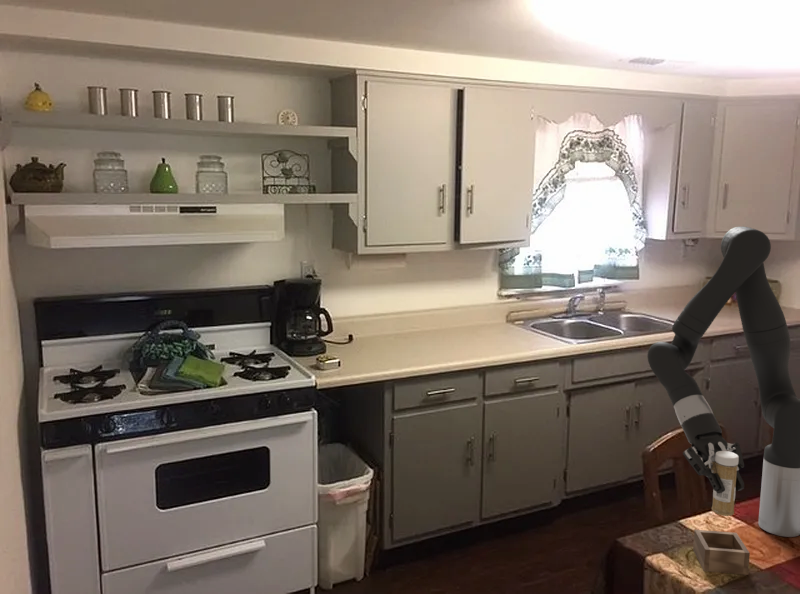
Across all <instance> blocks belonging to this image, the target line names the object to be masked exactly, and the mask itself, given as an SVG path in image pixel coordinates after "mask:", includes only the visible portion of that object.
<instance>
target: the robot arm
mask: <svg viewBox="0 0 800 594" xmlns="http://www.w3.org/2000/svg"><path fill="white" fill-rule="evenodd" d="M771 248H772V243H771V242H770V239H769V237H768V236H767V234H765V233H764V232H763V231H761V230H759V229H756V228H752V227H750V226H749V227H748V226H735V227H732V228H731V229H728V231H727V232H725V234H724V235H723V237H722V240H721V243H720V251H721V254H722V257H723V259H722V261H721V262H720V265H719V266H718V268H717V270H716V271H715V273H714V274H713V276H712V277H711V278H710V279H708V281H707V283H706V284H704V285H703V286H702V287H701V289H700V290H698V291H697V293H696V294H695V295H694V296H693V297H692V298H691V299H690V300H689V301H688V302H687V304H686V305H685V306H684V308H683V310H682V311H681V312H680V313H679V315H678V317H677V318H676V319H675V320H674V322H673V324H672V326H671V330H672V332H673V334H674V337H673V339H672V341H671V342H667V341H657V342H654V343H653V344H652V345H650V347H649V348H648V351H647V362H648V364H649V367H650V369H651V371H652V372H653V374H654V375H655V376H656V378H657V380H658V382H659V383H660V384H661V385H662V386H663V388H664V390H665V391H666V392H667V394H668V397H669V400H670V401H671V404H672V406H673V409H674V411H675V415H676V418H677V420H678V422H679V424H680V426H681V429H682V430H683V433H684V434H685V437H686V439H687V441H688V443H689V444H691V446H690V447H688V448H687V449H685V450H684V451H683V452H682V454H683V455H682V456H684V458H685V459H686V460H687V462H688V463H689V465H690V466H691V467H692V468H693V470H694V471H695V472H696V474H697V475H698V476H705V477H706V478H708V481H709V482H710V484H711V486H712V487H711V488H712V490H713V489H714V490H715V491H716V492H717V493H722V492H724V491H725V487H724V485H723V483H722V481H721V479H720V477H719V475H718V474H716V467H715V466H716V461H715V455H716V452H718V451H729V452H733V453H735V454H737V455H738V457H739V461H738V466H737V475H736V492H739V491H740V492H741V491H742V490H744V489H745V482H744V480H743V478H742V475H741V474H740V472H739V471H740V470H742V468H744V467H745V463H744V459H743V458H744V457H743V454H742V449H741V444H740V443H739V442H734V443H729V442H727V440H726V439H725V438H724V437H723V434H722V433H723V432H722V431H723V430H722V428H721V427H720V424H719V422H718V420H717V419H716V416H715V414H714V413H713V412H714V411H713V410H712V408H711V406H710V404H709V403H708V401H707V400H706V398H705V396H704V394H703V392H702V391H701V389H700V387H699V384H698V383H697V381H696V380H695V378H694V377H693V376H692V375H690V374H688V373H687V371H685V370H686V369H687V368H688V367H689V366H690V364H691V362H692V360H693V358H694V355H695V354H696V351H697V348H698V345H699V342H700V340H701V339H702V338H703V336H704V335H705V333H707V331H708V329H709V328H710V326H711V325H712V323H713V322H714V321H715V320H716V317H718V315H719V313H720V312H721V311H722V310H723V308H725V305H726V304H727V303H728V302H729V300H730V299H731V298H732V297H733V295H734V294H735V295H736V296H735V297H736V303H737V307H738V313H739V316H740V322H741V327H742V332H743V335H744V338H745V341H746V342H745V343H746V345H747V348H748V351H749V356H750V359H751V363H752V366H753V370H754V373H755V376H756V379H757V385H758V393H759V400H760V406H761V407H760V408H761V413H762V416H763V418H764V420H765V422H766V423H767V424H768V425H769V426H770V427H771V428H773V431H772V432H773V433H772V441H771V443H770V444H768V445H765V447H764V451H763V462H762V474H761V475H762V476H761V485H760V487H761V488H760V499H759V510H758V511H759V512H758V527H759V528H761V529H762V530H764V531H766V532H767V533H770V534H771V535H775V536H778V537H779V536H780V537H784V538H787V537H789V538H792V537H793V538H795V537H798V536H800V398H798V396H797V394H796V392H795V390H794V386H793V383H792V380H791V376H790V373H789V360H790V355H791V346H792V345H791V336H790V332H789V329H788V325H787V321H786V317H785V315H784V311H783V309H782V306H781V305H780V303H779V301H778V298H777V297H776V295H775V293H774V292H773V290H772V287H771V286H770V282H769V280H768V277H767V274H766V268H765V265H764V263H765V262H766V260H767V258H768V257H769V256H770V252H771Z"/></svg>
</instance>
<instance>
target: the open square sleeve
mask: <svg viewBox="0 0 800 594" xmlns="http://www.w3.org/2000/svg"><path fill="white" fill-rule="evenodd" d="M692 549H693V553H694V554H695V556H696V558H697V560H698V562H699V565H700V567H701V569H702V570H703V572H709V573H711V572H712V573H722V574H723V573H724V574H732V575H733V574H734V575H746V576H747V575H748V576H749V568H750V555H751V553H750V551H749V549H748V547H747V546H746V544H744V542H743V541H742V539H741V537H740V536H739V534H738V533H737V532H731V531H717V530H707V529H706V530H703V529H694V531H693V546H692Z"/></svg>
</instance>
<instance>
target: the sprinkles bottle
mask: <svg viewBox="0 0 800 594" xmlns="http://www.w3.org/2000/svg"><path fill="white" fill-rule="evenodd" d="M715 461H716V463H715V467H716V474H718V475H719V477H720V479H721V481H722V483H723V485H724V487H725V491H724V492H722V493H717V492H716V491H715V490H714V489H713V488H712V491H713V492H712V506H711V511H712V512H713V513H714V514H716V515H719V516H723V517H731V516H734V514H735V502H736V501H735V499H736V492H737V491H736V475H737V466H738V461H739V457H738V455H737V454H735V453H733V452H729V451H728V450H727V451H718V452H716V455H715Z"/></svg>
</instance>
